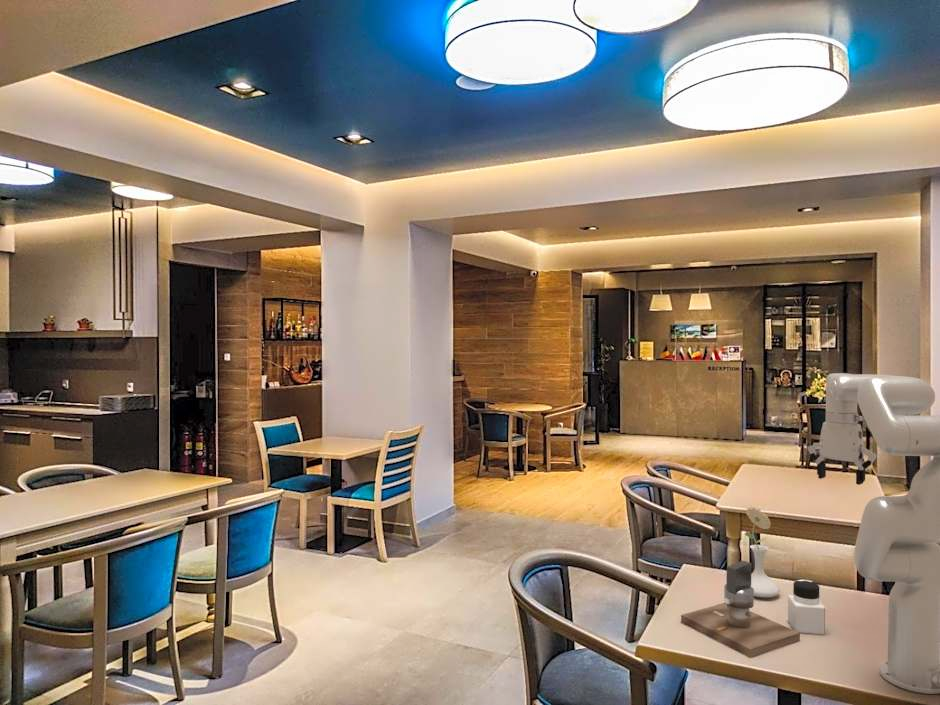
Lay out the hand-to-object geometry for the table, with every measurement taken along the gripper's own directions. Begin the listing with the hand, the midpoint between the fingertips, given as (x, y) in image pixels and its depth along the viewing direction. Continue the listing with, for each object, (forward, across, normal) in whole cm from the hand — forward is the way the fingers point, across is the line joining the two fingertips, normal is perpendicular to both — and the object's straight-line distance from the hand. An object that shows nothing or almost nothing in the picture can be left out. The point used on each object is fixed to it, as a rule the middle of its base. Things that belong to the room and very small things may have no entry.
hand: (840, 480), depth 182 cm
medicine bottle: (+36, +2, +17) cm, 40 cm away
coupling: (+29, +12, +33) cm, 46 cm away
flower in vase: (+36, +21, +4) cm, 42 cm away
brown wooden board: (+36, +12, +32) cm, 50 cm away
